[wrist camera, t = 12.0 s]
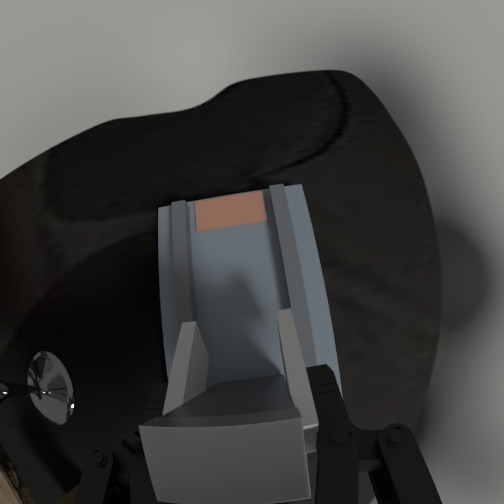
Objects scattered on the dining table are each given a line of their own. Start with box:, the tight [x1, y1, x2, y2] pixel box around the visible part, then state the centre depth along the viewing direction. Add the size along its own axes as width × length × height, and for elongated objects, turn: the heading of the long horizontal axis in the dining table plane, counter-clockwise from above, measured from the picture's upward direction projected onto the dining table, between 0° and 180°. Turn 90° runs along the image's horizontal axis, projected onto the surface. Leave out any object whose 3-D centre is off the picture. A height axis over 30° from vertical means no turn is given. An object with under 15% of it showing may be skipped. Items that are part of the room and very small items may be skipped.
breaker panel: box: [158, 184, 343, 399], centre depth 18 cm, size 18×11×3 cm, turn 8°
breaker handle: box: [139, 374, 311, 504], centre depth 10 cm, size 2×4×11 cm, turn 98°
